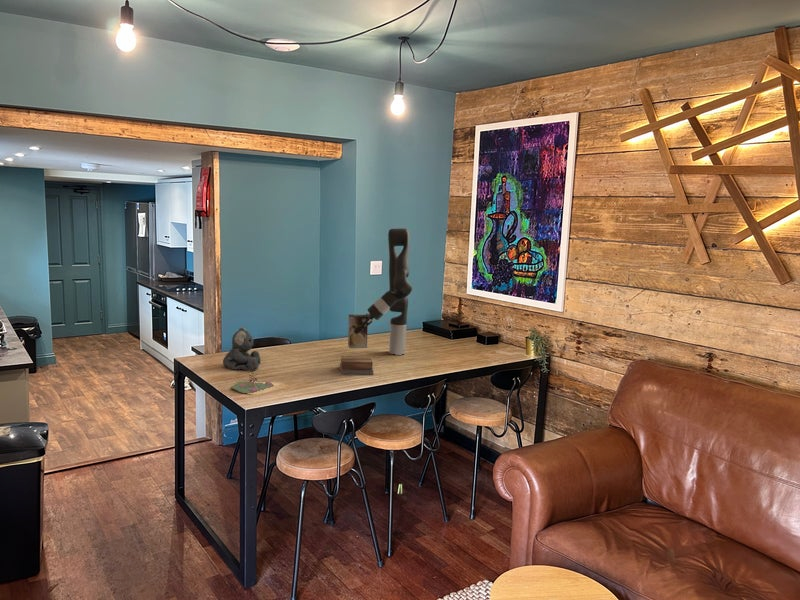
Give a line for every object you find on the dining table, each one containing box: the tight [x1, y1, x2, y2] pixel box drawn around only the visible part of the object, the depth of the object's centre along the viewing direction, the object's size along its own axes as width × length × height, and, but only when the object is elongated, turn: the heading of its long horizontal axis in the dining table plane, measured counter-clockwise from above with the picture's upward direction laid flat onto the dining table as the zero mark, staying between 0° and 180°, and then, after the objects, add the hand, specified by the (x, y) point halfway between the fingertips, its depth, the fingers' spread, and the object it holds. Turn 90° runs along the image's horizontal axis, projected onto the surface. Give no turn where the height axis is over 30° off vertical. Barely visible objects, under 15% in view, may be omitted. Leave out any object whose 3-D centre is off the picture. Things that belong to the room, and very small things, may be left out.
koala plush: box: [222, 326, 261, 371], centre depth 297 cm, size 17×18×20 cm
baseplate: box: [339, 362, 374, 376], centre depth 301 cm, size 14×16×2 cm
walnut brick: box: [340, 355, 374, 370], centre depth 301 cm, size 12×15×4 cm
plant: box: [230, 370, 274, 394], centre depth 266 cm, size 25×21×9 cm
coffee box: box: [347, 314, 369, 349], centre depth 299 cm, size 9×6×16 cm
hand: (354, 331), depth 298 cm, fingers closed on coffee box, 6 cm apart
